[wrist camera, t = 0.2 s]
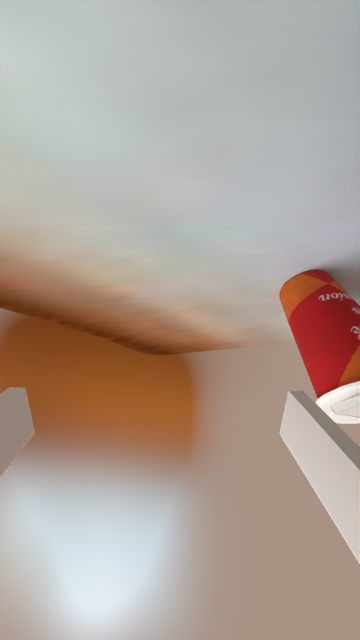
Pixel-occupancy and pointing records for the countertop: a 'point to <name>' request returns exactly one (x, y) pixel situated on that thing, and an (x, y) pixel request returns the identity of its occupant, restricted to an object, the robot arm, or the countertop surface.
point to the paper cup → (326, 340)
